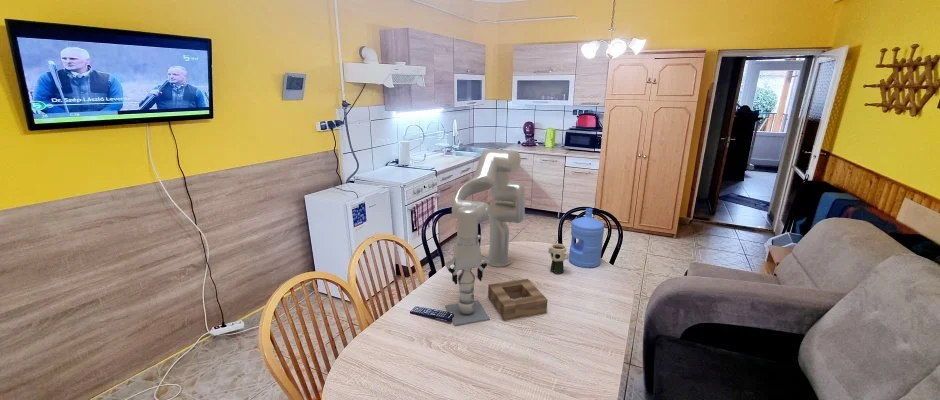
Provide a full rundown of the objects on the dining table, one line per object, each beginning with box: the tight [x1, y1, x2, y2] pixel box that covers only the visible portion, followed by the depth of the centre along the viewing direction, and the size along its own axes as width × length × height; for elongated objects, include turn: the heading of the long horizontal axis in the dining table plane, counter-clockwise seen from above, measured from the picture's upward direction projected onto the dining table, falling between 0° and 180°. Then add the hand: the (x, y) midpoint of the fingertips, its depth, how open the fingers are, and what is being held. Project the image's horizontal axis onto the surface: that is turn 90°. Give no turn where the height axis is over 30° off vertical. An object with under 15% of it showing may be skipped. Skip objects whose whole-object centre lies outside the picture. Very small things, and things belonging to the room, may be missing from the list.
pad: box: [445, 299, 491, 327], centre depth 156 cm, size 14×14×1 cm
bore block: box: [487, 278, 548, 322], centre depth 162 cm, size 18×18×6 cm
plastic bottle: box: [457, 268, 476, 314], centre depth 153 cm, size 6×7×20 cm
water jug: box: [568, 207, 605, 269], centre depth 199 cm, size 16×16×28 cm
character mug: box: [548, 243, 569, 274], centre depth 190 cm, size 11×7×13 cm, turn 44°
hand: (467, 281), depth 153 cm, fingers open, 9 cm apart
